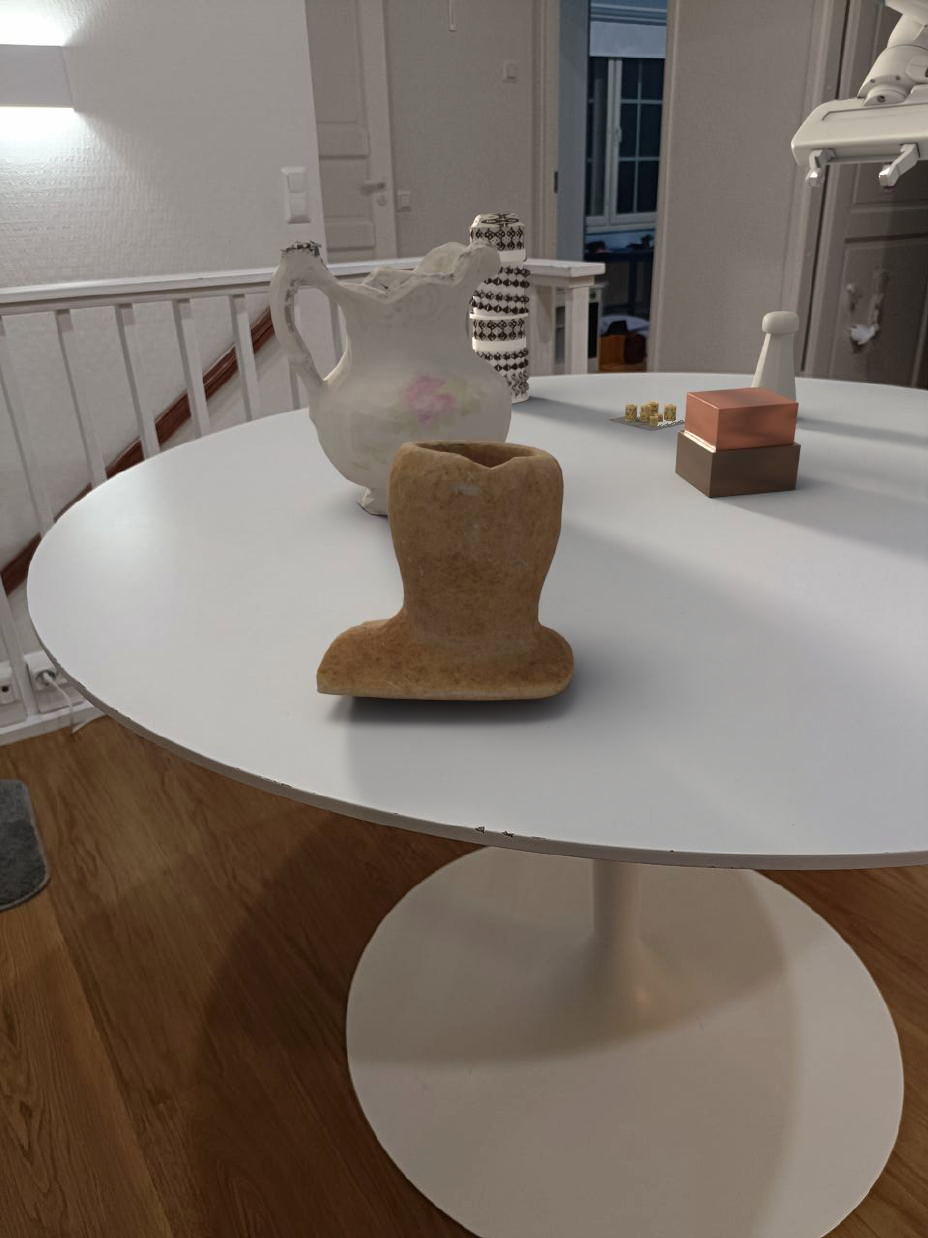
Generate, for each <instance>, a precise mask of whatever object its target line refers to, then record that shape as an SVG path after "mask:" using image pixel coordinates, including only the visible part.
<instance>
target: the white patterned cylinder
mask: <svg viewBox="0 0 928 1238" xmlns="http://www.w3.org/2000/svg"><path fill="white" fill-rule="evenodd" d="M525 226H526V224H524V223H523V221H522V220H521V217H520V216H519V215H518V214H517V213H515V212H502V213H501V212H499V213H482V214H478V215H476V217H475V218H474V220H473V222H472V225H470V226H469V227H467V228H468V229H469V241H470V243H469V245H470V244H471V243H473V242H475V241H476V240H478V239H479V238H482V240H483V241H487V242H489V243H492V244H496V245H497V252H498V253H499V255H500V261H501V269H500V271H499V272H498V274H496V275H493V276H491V277H490V278H488V279H487V280H485V281H483V282H482V283H480V285H479V286H478V288H477V289H476V290H475V292H474V294H473V296H472V298H471V300H470V302H469V306H471V307H472V310H470V311H469V312H468V314H469V319H472V332H473V337H472V338H471V339H472V348H473V350H474V351H475V352H476V353H477V354H478V355H479V356H480V357H481V358H483V359H484V360H486V361H487V362H488V363H489V364H490V365H491V366H492V367H493V368H494V369H496V370H497V371H498V372H499V373H500V374H501V375H502V376H503V377H504V378H505V379H506V381H507V384H508V386H509V389H510V391H511V397H512V404H518V403H522V402H526V401H527V400H529V397H530V396H529V393H528V392H527V391H529V389H530V384H529V383H528V380H529V379H530V373H529V371H528V370H526V367H528V366H529V365H530V363H529V359H527V358H525V357H527V356H528V355H529V353H530V351H529V349H528V348H527V335H526V321H525V320H526V319H525V318H526V317H528V316H529V313H530V309H528V308H527V307H526V304H528V303H529V302H530V298H529V296H527V295H526V294H525V293H524V292H525V291H526V290H527V289H528V288H530V286H531V282H529V281H528V280H527V279H526V278H528V277H529V276H530V275H531V271H530V270H529V269H528V268H526V267H524V263H525V262H527V260H528V257H527V256H526V248H525ZM499 246H500V247H499ZM524 279H525V280H524Z"/></svg>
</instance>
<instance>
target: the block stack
mask: <svg viewBox="0 0 928 1238" xmlns="http://www.w3.org/2000/svg"><path fill="white" fill-rule="evenodd" d="M685 401H686V403H685V415H684V416H685V417H684V418H685V423H684V429H683V430H682V429H681V430H677V439H676V453H675V454H676V456H675V469H674V470H675V471H674V472H675V473H676V474H677V475H678V476H679V477H681V478H682V479H683V480H685V481H686V482H688V483H689V484H690V485H691V486H693V487H694V488H695V489H697V490H698V491H699V492H701V493H702V494H703V495H705V496H706V497H707V498H709V499H710V498H718V497H719V498H720V497H721V498H722V497H731V496H741V495H752V494H764V493H775V492H786V491H796V488H797V480H798V472H799V465H800V457H801V451H802V445H801V444H800V443H797V442H796V441H795V437H796V431H797V422H798V421H797V420H798V413H799V406H800V405H799V404H800V402H798V401H797V400H796V401H793V400H791V399H788V398H786V397H784V396H781V395H779V394H776V393H774V392H772V391H769V390H767V389H764V388H762V387H753V388H751V387H741V388H727V389H714V390H701V391H689V392H686V400H685Z"/></svg>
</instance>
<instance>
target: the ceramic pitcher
mask: <svg viewBox="0 0 928 1238" xmlns="http://www.w3.org/2000/svg"><path fill="white" fill-rule="evenodd" d="M322 246H323V245H322V244H321V243H318V242H314V241H312V240H309V242H306V241H305V242H302V241H299V240H296V241H295V243H294V244H292V242H287V247H286V248H285V249H284V248H283V249H282V248H281V249H280V251H281V256H280V259H279V263H278V264H277V267H276V268H275V270H274V272H273V273H272V275H271V277H270V283H269V288H268V301H269V309H270V317H271V322H272V326H273V330H274V335H275V338H276V340H277V342H278V343H279V345H280V347H281V349H282V351H283V353H284V355H285V358H286V359H287V361H288V363H289V365H290V367H291V369H292V371H293V372H294V374H296V375H297V376H298V378H300V380H301V382H302V384H303V385H304V388H305V391H306V399H307V407H308V418H309V419H310V421H311V422H312V424H313V426H314V427H315V430H316V435H317V439H318V443H319V444H320V446H321V448H322V451H323V453H324V454H325V456H326V458H327V460H328V461H329V462H330V463H331V464H332V465H333V467H334V468H335V469H336V470H337V471H338V473H339V474H340V475H341V476H342V477H343V478H345V480H347V481H349V482H351V483H354V484H355V485H358V486H361V487H365V488H367V489H366V491H365V493H364V495H363V496H362V497H360V499H358V500H357V502H358V504H359V505H360V506H361V507H362V508H363V509H364V510H365V511H366V512H367V513H368V514H371V515H381V516H388V512H387V484H388V477H389V472H390V469H391V465H392V461H393V458H394V456H395V454H396V452H397V450H398V448H399V447H400V446H402V445H403V444H405V443H407V442H412V441H427V442H428V441H435V440H442V441H455V440H466V441H494V442H505V443H506V442H507V438H508V434H509V431H510V427H511V420H512V414H513V413H512V412H513V411H512V410H513V403H512V397H511V391H510V389H509V386H508V384H507V381H506V379H505V378H504V377H503V376H502V375H501V374H500V373H499V372H498V371H497V370H496V369H494V368H493V367H492V366H491V365H490V364H489V363H488V362H487V361H486V360H484V359H483V358H481V357H480V356H479V355H478V354H477V353H476V352H475V351H474V350H473V346H472V345H471V343H470V341H469V338H468V334H467V330H466V318H467V313H468V309H469V306H470V304H469V302H470V300H471V298H472V296H473V294H474V292H475V290H476V289H477V288H478V286H479V285H480V283H482V282H483V281H485V280H487V279H488V278H490V277H491V276H493V275H496V274H498V272H499V271H500V269H501V261H500V255H499V253H498V252H497V245H496V244H492V243H489V242H487V241H483V240H482V238H479V239H478V240H476V241H475V242H473V243H471V244H470V243H469V245H468V246H467V245H465V244H463V243H459V242H456V241H455V242H454V241H449V242H446V243H445V244H442V245H440V246H437V247H434V248H432V249H431V250H430V251H429V252H427V254H425V256H424V257H423V258H422V260H421V261H420V263H419V264H418V265H417V266H416V267H415V268H414V269H413V270H412V269H411V270H410V269H397V268H395V267H392V266H388V265H383V264H382V265H380V266H378V267H376V268H374V269H372V271H371V272H370V273H368V275H367V276H366V277H365V278H364V279H363V281H362V282H361V283H352V282H351V283H349V282H344V281H342V280H341V281H340V280H339V279H338V278H337V277H336V276H334V274H333V273H332V272H331V271H330V270H329V268H328V267H327V264H326V263H325V261H324V259H323V258H322V257H321V253H320V248H322ZM499 247H500V246H499ZM301 286H302V287H303V286H307V287H308V286H309V287H314V288H315V289H317V290H319V291H320V292H321V293H323V294H324V296H326V297H327V298H328V299H330V300H333V301H334V302H335V303H336V304H337V305H338V307H339V311H340V314H341V317H342V320H343V325H344V330H345V334H346V338H345V351H344V353H343V354H342V356H341V357H340V359H339V361H338V363H337V365H336V366H335V367H334V368H333V369H332V370H331V371H330V372H329V373H328V374H327V375H326V377H325V378H322V377H321V375H320V373H319V371H318V369H317V367H316V365H315V363H314V360H313V359H314V358H313V357H312V354H311V352H310V350H309V348H308V345H307V344H306V343H305V341H304V340H303V337H302V335H301V334H300V332H299V330H298V328H297V325H296V319H295V295H296V291H297V290H298V289H299V288H300V287H301Z"/></svg>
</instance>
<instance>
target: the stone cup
mask: <svg viewBox="0 0 928 1238" xmlns="http://www.w3.org/2000/svg"><path fill="white" fill-rule="evenodd" d="M564 483H565V482H564V476H563V469H562V467H561V465H560V463H559V460H557V458H556V457H555V456H554V455H552V454H551V453H550V452H548V451H546V450H544V449H541V448H538V447H535V446H530V445H525V444H520V443H514V442H506V441H505V442H494V441H466V440H455V441H442V440H435V441H428V442H427V441H412V442H407V443H405V444H403V445H402V446H400V447H399V448H398V450H397V452H396V454H395V456H394V458H393V461H392V465H391V469H390V472H389V477H388V484H387V512H388V515H387V520H388V525H389V526H388V527H389V529H390V535H391V540H392V545H393V551H394V554H395V558H396V561H397V565H398V568H399V573H400V577H401V581H402V589H403V590H402V591H403V602H402V606H401V608H400V609H399V610H398V612H397V613H396V614H395V615H393V616H392V617H390V618H383V619H374V620H366V621H363V622H361V624H359V625H354V626H350V627H349V628H347V629H346V630H344V631H342V632H340V633H339V634H338V635H337V636H336V637H335V638H334V639H333V641H332V642H331V643H330V645H329V647H328V648H327V650H326V651H325V653H323V656H322V659H321V661H320V663H319V666H318V668H317V670H316V676H315V678H316V692H318V693H319V694H322V695H331V696H344V697H345V696H346V697H361V698H365V697H366V698H381V699H401V700H402V699H403V700H404V699H405V700H427V701H428V700H432V701H433V700H435V701H514V700H535V699H542V698H543V699H544V698H548V697H553V696H555V695H557V694H559V693H560V692H562V691H564V690H565V689H566V688H567V686H568V685H569V683H570V681H571V679H572V677H573V675H574V671H575V657H574V653H573V649H572V646H571V644H570V643H569V642H568V641H567V639H565V637H564V636H563V635H562V634H560V633H559V632H558V631H556V630H554V629H552V628H550V627H547V626H545V625H542V624H541V622H540V619H539V608H540V601H541V594H542V591H543V588H544V585H545V582H546V579H547V576H548V574H549V572H550V569H551V566H552V563H553V560H554V557H555V554H556V552H557V549H558V548H557V547H558V544H559V540H560V536H561V531H562V519H563V518H562V516H563V515H562V514H563V504H564V491H565V490H564V488H565V487H564V486H565V485H564Z"/></svg>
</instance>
